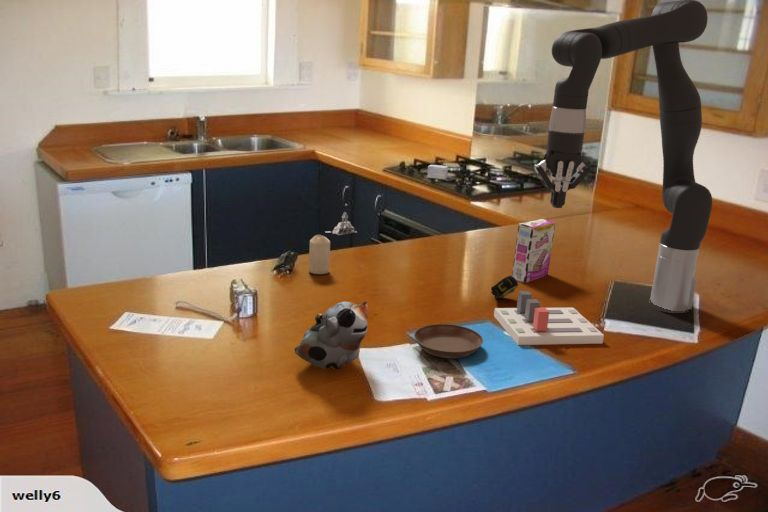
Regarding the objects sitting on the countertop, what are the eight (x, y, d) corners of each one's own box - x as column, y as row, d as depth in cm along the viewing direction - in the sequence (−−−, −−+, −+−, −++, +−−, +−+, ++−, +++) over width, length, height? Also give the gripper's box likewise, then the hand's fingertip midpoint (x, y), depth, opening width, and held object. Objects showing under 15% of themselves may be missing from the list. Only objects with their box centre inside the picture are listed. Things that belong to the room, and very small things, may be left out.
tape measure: (499, 303, 194) (491, 290, 195) (521, 288, 194) (513, 276, 195) (496, 300, 188) (487, 287, 189) (519, 285, 187) (511, 272, 188)
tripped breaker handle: (542, 326, 171) (545, 307, 169) (546, 330, 169) (549, 311, 167) (532, 326, 170) (535, 307, 169) (536, 330, 168) (539, 311, 167)
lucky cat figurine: (329, 334, 164) (344, 277, 159) (373, 361, 158) (389, 303, 153) (283, 354, 152) (297, 294, 146) (328, 384, 146) (345, 322, 141)
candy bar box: (525, 286, 205) (532, 227, 200) (510, 281, 208) (517, 223, 204) (549, 278, 213) (556, 221, 208) (534, 273, 216) (541, 217, 211)
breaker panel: (572, 315, 186) (575, 288, 184) (602, 343, 170) (607, 314, 168) (493, 315, 182) (496, 288, 180) (517, 344, 166) (521, 315, 164)
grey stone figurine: (346, 228, 252) (347, 206, 249) (361, 235, 245) (362, 212, 243) (323, 231, 246) (324, 208, 244) (338, 238, 240) (339, 215, 237)
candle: (332, 273, 206) (334, 237, 203) (314, 275, 203) (315, 239, 200) (323, 267, 210) (324, 232, 207) (305, 269, 207) (306, 234, 204)
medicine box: (446, 186, 327) (448, 166, 324) (444, 188, 323) (446, 167, 320) (428, 184, 329) (430, 164, 326) (426, 185, 325) (428, 165, 322)
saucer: (412, 360, 156) (413, 348, 155) (413, 332, 170) (414, 321, 169) (484, 365, 156) (485, 353, 155) (479, 337, 170) (480, 326, 169)
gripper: (588, 127, 168) (577, 203, 173) (531, 125, 165) (522, 203, 170) (603, 132, 161) (591, 211, 166) (544, 130, 158) (534, 211, 163)
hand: (556, 207), depth 168 cm, fingers closed
